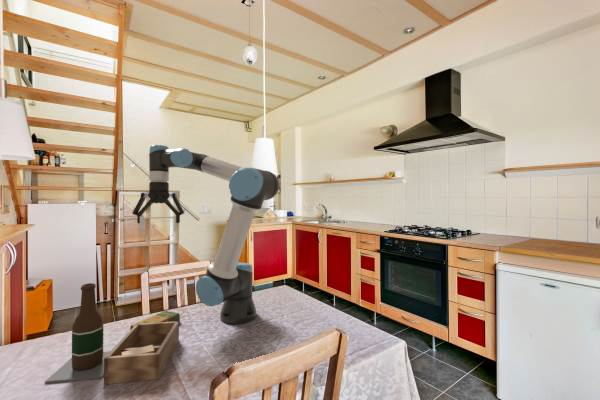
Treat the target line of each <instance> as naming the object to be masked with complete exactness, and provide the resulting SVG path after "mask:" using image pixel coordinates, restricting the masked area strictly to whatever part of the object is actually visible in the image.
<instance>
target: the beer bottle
mask: <svg viewBox="0 0 600 400" xmlns="http://www.w3.org/2000/svg"><path fill="white" fill-rule="evenodd" d="M96 287H97V285H96V283H89V282H88V283H85V284H82V286H80V290H81V299H80V309H79V313H78V315H77V316H76V317H75V319H74V321H73V323H72V326H71V328H72V329H71V358H72V369H73V370H77V371H84V370H88V369H92V368H94V367H96V366H97V365H99V364H101V362H102V359H103V352H104V317H103V315H102V313H101V312H100V311H99V310H98V307H97V304H96Z"/></svg>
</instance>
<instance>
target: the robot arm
mask: <svg viewBox="0 0 600 400" xmlns="http://www.w3.org/2000/svg"><path fill="white" fill-rule="evenodd" d="M148 156H149V157H148V159H149V160H148V161H149V163H148V164H149V165H148V166H149V170H148V171H149V172H148V174H149V176H148V177H149V181H150V182H149V183H148V189H149V190H148V192H149V193H146V192H141V193H140V198H139V200H138V201H137V203H136V205H135V207H134V209H133V211H132V215H134V216H136V217H137V224H139V232H144V231H145V215H143V214H145V212H146V211H148V209H149V208H150V207H151V206H152V205H153V204H165V205H166V206H167V207H168V208H169V209H170V210H171V211H172V213H174V215H173V232H177V231H178V224H180V222H181V221H180V220H181V215H184V214H185V211H184V208H183V207H182V205H181V203H180V201H179V200H178V195H177V192H172V193H170V190H169V188H170V185H169V179H170V177H169V175H170V168H178V169H179V168H182V169H187V170H188V169H189V170H195V171H199V172H202V173H205V174H208V175H210V176H213V177H216V178H219V179H221V180H224V181H226V182H227V181H228V190H229V192H230V195H231V197H230V201H231V203H232V207H231V210H230V213H229V216H228V219H227V222H226V224H225V227H224V231H223V234H222V236H221V240H220V242H219V247H218V249H217V252H216V255H215V258H214V262H211V263H210V264H208V266H207V269H206V272H205V274H204V275H202V276H201V277H199V278H198V279H197V280H196V284H195V292H196V295H197V298H198V300H199V301H200V302H201V303H202V304H203V305H205V306H207V307H215V306H218V305H221V304H222V306H221V310H220V316H219V317H220V318H219V319H220V321H221V322H223V323H226V324H231V325H233V324H234V325H236V324H237V325H240V324H244V323H248V322H250V321H253V320H254V319H255V318H256V317H257V309H256V306H255V303H254V299H253V273H254V272H253V266H252V264H251V263H248V262H241V261H240V262H239V260H240V257H241V255H242V251H243V248H244V246H245V243H246V240H247V237H248V234H249V231H250V228H251V227H252V224H253V219H254V217H255V215H256V212H259V211H260V210H261V209H262V206H263V204H264V201H269V200H271V199H273V198H275V196H276V195H277V194H278V192H279V189H280V181H279V178H278V177H277V175H276V174H274V173H273V172H271V171H269V170H263V169H260V168H259V169H258V168H256V167H242V166H239V165H236V164H233V163H230V162H227V161H224V160H220V159H217V158H215V157H211V156H209V155H206V154H204V153H197V152H193V151H190V150H189V149H187V148H180V147H178V148H174V149H173V148H172V149H171V148H169V147H168V146H167V145H162V144H152V145H150V147H149V154H148ZM147 198H149V200H148V201H147V202H146V203H145V204H144V202H145V200H146V199H147ZM169 198H171V199H172V200H173V203H174V204H175V206H176V207H175V206H174V205H173V204H172V203H171V201H170V200H169Z"/></svg>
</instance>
